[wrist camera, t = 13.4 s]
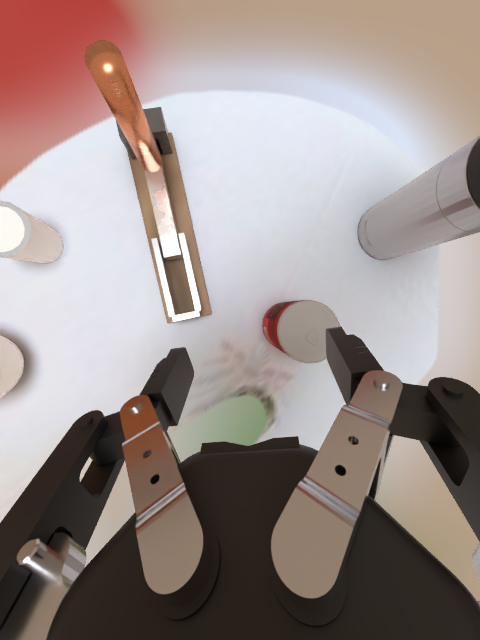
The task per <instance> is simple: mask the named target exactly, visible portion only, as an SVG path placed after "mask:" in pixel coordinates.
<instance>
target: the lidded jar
mask: <svg viewBox="0 0 480 640" xmlns="http://www.w3.org/2000/svg"><path fill="white" fill-rule="evenodd" d="M23 369H24V357H23V354H22V352H21V351H20V349H19V348H18V347H17V346H16V345H15V344H14V343H13V342H11V341H10V340H8V339H7V338H5V337H3V336H0V398H1V397H2V396H4V395H5V394H6V393H8V392H9V391H10V390H11V389H12V388H13V387H14V386H15V385H16V384H17V383H18V381H19V379H20V377H21V376H22V373H23Z"/></svg>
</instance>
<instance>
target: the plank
mask: <svg viewBox="0 0 480 640" xmlns="http://www.w3.org/2000/svg"><path fill="white" fill-rule="evenodd" d="M168 134H169V138H170V143H171V148H172V152H173V153H172V154H166V155H161V158H162V164H163V168H164V173H165V177H166V182H167V186H168V191H169V195H170V200H171V204H172V209H173V213H174V217H175V222H176V226H177V231H178V234H180V233H184V234H185V236H186V238H187V241H188V246H189V250H190V255H191V259H192V264H193V268H194V273H195V277H196V282H197V286H198V291H199V295H200V300H201V304H202V309H203V310H200V312H201V316H204V315H209V314H212V313H211V309H210V304H209V299H208V295H207V290H206V286H205V281H204V277H203V272H202V268H201V263H200V258H199V254H198V249H197V245H196V240H195V236H194V231H193V227H192V222H191V217H190V213H189V208H188V204H187V199H186V195H185V190H184V186H183V181H182V176H181V172H180V167H179V163H178V158H177V154H176V149H175V145H174V140H173V136H172V133H168ZM127 152H128V150H127ZM128 156H129V160H130V165H131V169H132V173H133V178H134V182H135V186H136V190H137V195H138V199H139V203H140V208H141V212H142V216H143V220H144V225H145V229H146V233H147V238H148V242H149V246H150V251H151V255H152V259H153V263H154V268H155V272H156V276H157V281H158V285H159V289H160V294H161V298H162V302H163V306H164V311H165V315H166V319H167V323H171V322H173V318H172V316H171V317H169V314H168V309H167V305H166V301H165V297H164V292H163V288H162V284H161V279H160V275H159V271H158V266H157V262H156V258H155V253H154V249H153V245H152V240H151V239H153V238H157V239H158V240H159V241H160V237H159V233H158V228H157V224H156V220H155V215H154V211H153V207H152V202H151V198H150V193H149V189H148V185H147V180H146V176H145V172H144V169H143V168H142V166H141V164H140V162H139V161H138V159H134V160H133V159H132V157H131V156H130V154H129V152H128ZM179 240H180V239H179ZM160 242H161V241H160ZM181 249H182V248H181ZM166 261H167V265H168V270H169V274H170V279H171V283H172V287H173V292H174V296H175V300H176V305H177V309H178V313H179V315H180V314H185V313H189V312H194V311H195V306H194V302H193V297H192V293H191V288H190V284H189V280H188V275H187V271H186V266H185V262H184V257H183V258H180V259H175V260H170V261H168V260H166ZM197 317H199V316H197ZM193 318H195V317H193ZM188 319H190V318H188ZM183 320H185V319H183ZM179 321H180V320H179ZM174 322H176V321H174Z"/></svg>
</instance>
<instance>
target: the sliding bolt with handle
mask: <svg viewBox="0 0 480 640" xmlns="http://www.w3.org/2000/svg"><path fill="white" fill-rule="evenodd" d="M85 62H86V65H87V67H88V69H89V71H90V73H91V75H92V76H93V78H94V80H95V82H96V84H97V86H98V87H99V89H100V91H101V93H102V95H103V97H104V98H105V100H106V102H107V104H108V105H109V107H110V109H111V111H112V113H113V115H114V117H115V119H116V120H117V122H118V124H119V126H120V128H121V130H122V131H123V133H124V135H125V137H126V139H127V141H128V142H129V144H130V146H131V148H132V150H133V151H134V153H135V155H136V157H137V159H138V161H139V162H140V164H141V166H142V168H143V169H144V172H145V176H146V180H147V185H148V189H149V193H150V198H151V202H152V207H153V211H154V215H155V220H156V224H157V228H158V233H159V237H160V241H161V246H162V250H163V255H164V258H165V259H166V260H168V261H170V260H175V259H180V258H183V253H182V249H181V244H180V240H179V235H178V231H177V226H176V222H175V217H174V213H173V209H172V204H171V200H170V195H169V191H168V186H167V182H166V177H165V173H164V168H163V164H162V158H161V155H160V150H159V146H158V142H157V139H154V137H153V135H152V132H151V129H150V127H149V124H148V122H147V119H146V116H145V114H144V111H143V109H142V106H141V103H140V101H139V98H138V96H137V93H136V91H135V88H134V85H133V83H132V80H131V78H130V75H129V72H128V70H127V67H126V65H125V62H124V59H123V57H122V54H121V52H120V50H119V49H118V48H117V47H116V46H115V45H114V44H113V43H111V42H109V41H105V40H98V41H95V42H93V43H91V44H90V45H89V46H88V48H87V49H86V53H85Z"/></svg>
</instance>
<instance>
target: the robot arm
mask: <svg viewBox="0 0 480 640" xmlns="http://www.w3.org/2000/svg"><path fill="white" fill-rule="evenodd" d="M478 232H480V136H479V137H477V138H476V139H474V140H473V141H471V142H470V143H468V144H467V145H465V146H464V147H462V148H461V149H459V150H458V151H456V152H455V153H453V154H452V155H450V156H449V157H447V158H446V159H444V160H443V161H442V162H440V163H438V164H437V165H435V166H434V167H432V168H431V169H429V170H428V171H426V172H425V173H423V174H422V175H420V176H419V177H417V178H416V179H414V180H413V181H411V182H410V183H408V184H407V185H405V186H404V187H402V188H401V189H399V190H398V191H396V192H395V193H393V194H392V195H390V196H389V197H387V198H386V199H384V200H383V201H381V202H380V203H378V204H377V205H375V206H374V207H372V208H371V209H369V210H368V211H367V212H366V213H365V214H364V215H363V217H362V219H361V221H360V224H359V229H358V236H359V240H360V243H361V245H362V247H363V249H364V250H365V251H366V252H367V253H368V254H369V255H370V256H372V257H374V258H377V259H390V258H393V257H397V256H400V255H404V254H407V253H411V252H414V251H417V250H421V249H424V248H427V247H431V246H434V245H438V244H441V243H444V242H447V241H451V240H454V239H457V238H461V237H464V236H468V235H471V234H474V233H478ZM326 355H327V360H328V363H329V366H330V368H331V370H332V372H333V375H334V377H335V379H336V382H337V384H338V386H339V389H340V391H341V393H342V396H343V398H344V400H345V402H346V405H347V406H346V405H344V406H343V407H342V408H341V410H340V412H339V414H338V416H337V418H336V420H335V421H334V423H333V425H332V427H331V429H330V431H329V433H328V435H327V437H326V439H325V440H324V442H323V444H322V446H321V448H320V450H319V451H317V450H315V449H313V448H310V447H307V446H304V445H299V439H298V437H283V438H272V439H269V440H266V441H263V442H260V443H257V444H254V445H251V446H244V445H239V444H234V443H229V442H212V443H202V447H201V452H198V453H196V454H194V455H192V456H190V457H188V458H187V459H186V460H184V461H183V462H182V463H181V462H180V460H179V457H178V455H177V453H176V450H175V448H174V446H173V444H172V441H171V439H170V437H169V435H168V433H167V430H168V427H169V426H177V425H178V422H179V419H180V416H181V413H182V410H183V407H184V404H185V401H186V398H187V395H188V392H189V389H190V386H191V383H192V380H193V377H194V370H193V366H192V364H191V361H190V358H189V356H188V353H187V350H186V348H184V347H182V348H175V349H171V350H170V352H169V354H168V356H167V357H166V358H164V359H163V360H161V361H160V362H159V363H158V364H157V366H156V367H155V369H154V372H153V373H152V374H151V376H150V378H149V380H148V381H147V383H146V385H145V387H144V388H143V390H142V392H141V393H140V395H139V396H136V397H133V398H131V399H130V400H128V401H127V402H126V403H125V404H124V405H123V406H122V408H121V410H120V412H117V413H114V414H111V415H108V416H106V417H105V416H104V415H103V413H102V412H101V411H99V410H95V411H91V412H88V413H86V414H84V415H83V416H81V417H80V418H79V419H78V420H76V421H75V423H74V424H73V425H72V426H71V428H70V429H69V430H68V432H67V433H66V434H65V436H64V437H63V439H62V440H61V441H60V443H59V444H58V445H57V447H56V448H55V449H54V451H53V452H52V454H51V455H50V456H49V458H48V459H47V460H46V462H45V463H44V464H43V466H42V467H41V468H40V470H39V471H38V473H37V474H36V475H35V477H34V478H33V479H32V481H31V482H30V483H29V485H28V486H27V488H26V489H25V490H24V492H23V493H22V494H21V496H20V497H19V498H18V500H17V501H16V502H15V504H14V505H13V507H12V508H11V509H10V511H9V512H8V513H7V515H6V516H5V517H4V519H3V520H2V522H1V523H0V640H480V601H476V599H475V598H474V597H473V595H472V594H471V593H470V592H469V591H468V589H467V588H466V587H465V586H464V585H463V584H462V583H461V582H460V580H459V579H458V578H457V577H456V576H455V575H454V574H453V573H452V572H451V571H450V570H448V569H447V568H446V567H445V566H444V565H443V564H442V563H441V562H440V561H439V560H438V559H437V558H435V557H434V556H433V555H432V554H431V553H430V552H429V551H428V550H427V549H426V548H425V547H424V546H423V545H422V544H421V543H419V542H418V541H417V540H416V539H415V538H414V537H413V536H412V535H411V534H410V533H409V532H408V531H407V530H406V529H405V528H403V527H402V526H401V525H400V524H399V523H398V522H397V521H396V520H395V519H394V518H393V517H392V516H391V515H390V514H388V513H387V512H386V511H385V510H384V509H383V508H382V507H381V506H380V505H379V504H378V503H377V502H376V497H377V494H378V490H379V486H380V482H381V478H382V474H383V470H384V467H385V463H386V460H387V457H388V453H389V450H390V447H391V443H392V440H393V436H394V435H397V436H402V437H407V438H411V439H416V440H420V442H421V444H422V445H423V447H424V449H425V450H426V452H427V454H428V455H429V457H430V459H431V460H432V462H433V464H434V465H435V467H436V469H437V471H438V472H439V474H440V476H441V477H442V479H443V481H444V482H445V484H446V486H447V487H448V489H449V491H450V492H451V494H452V496H453V498H454V499H455V501H456V502H457V504H458V506H459V508H460V509H461V511H462V513H463V514H464V516H465V518H466V519H467V521H468V523H469V524H470V526H471V528H472V529H473V531H474V533H475V534H476V536H477V538H478V539H479V541H480V394H479V393H478V392H477V391H476V390H475V389H474V388H473V387H471V386H470V385H468V384H466V383H464V382H462V381H459V380H456V379H453V378H446V377H439V378H434V379H432V380H431V381H430V382H429V384H428V386H420V385H412V384H406V383H402V382H401V380H400V379H399V378H398V377H397V376H395V375H393V374H391V373H389V372H386V371H384V370H383V369H382V367H381V366H380V364H379V363H378V362H377V360H376V359H375V358H374V356H373V355H372V353H371V352H370V351H369V349H368V348H367V347H366V345H365V344H364V343H363V341H362V340H361V339H360V338H358V337H356V336H355V335H346V333H345V332H344V330H343V329H342V327H334V328H327V329H326ZM89 456H90V458H91V459H92V460H93V461H92V462H91V464H90V466H89V468H88V470H87V471H86V473H85V475H84V477H83V479H82V480H81V482H80V480H79V477H80V473H81V470H82V468H83V467H84V465H85V463H86V461H87V460H88V458H89ZM124 461H125V462H126V467H127V472H128V477H129V481H130V486H131V492H132V497H133V502H134V507H135V513H134V514H133V515H132V516H131V518H130V519H129V520H128V521H127V522H126V523H125V524H124V525H123V526H122V528H121V529H120V530H119V531H118V532H117V533H116V534H115V535H114V536H113V537H112V538H111V540H110V541H109V542H108V543H107V544H106V545H105V546H104V547H103V548H102V549H101V550H100V552H99V553H98V554H97V555H96V556H95V557H94V558H93V559H92V560H91V561H90V563H89V564H88V565H87V566H86V567H85V564H86V552H85V550H86V547H87V545H88V543H89V541H90V538H91V536H92V534H93V531H94V529H95V527H96V525H97V522H98V520H99V518H100V516H101V513H102V511H103V509H104V506H105V504H106V502H107V499H108V497H109V495H110V492H111V490H112V488H113V486H114V484H115V481H116V479H117V476H118V474H119V472H120V470H121V468H122V465H123V463H124ZM472 560H473V566H474V570H475V572H476V574H477V577H478V579H479V582H480V542H479V544H478V545H477V547H476V548H475V550H474V552H473V556H472ZM84 567H85V568H84Z"/></svg>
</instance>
